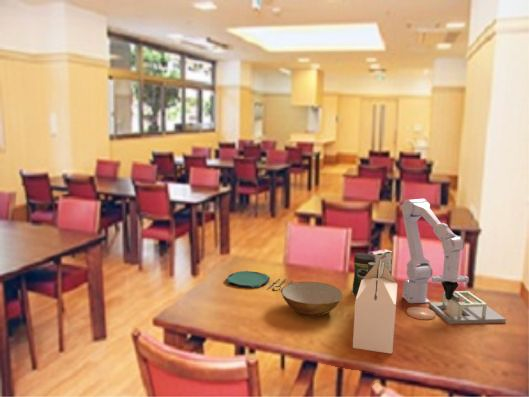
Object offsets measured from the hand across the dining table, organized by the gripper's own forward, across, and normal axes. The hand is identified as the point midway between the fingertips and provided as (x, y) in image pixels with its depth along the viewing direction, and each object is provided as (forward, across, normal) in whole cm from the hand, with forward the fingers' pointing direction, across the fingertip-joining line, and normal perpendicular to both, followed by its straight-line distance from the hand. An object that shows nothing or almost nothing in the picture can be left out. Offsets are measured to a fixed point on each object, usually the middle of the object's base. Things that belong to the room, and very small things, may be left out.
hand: (448, 298), depth 196 cm
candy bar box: (+7, -17, +35) cm, 39 cm away
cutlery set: (+7, -73, +40) cm, 84 cm away
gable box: (+7, -36, -18) cm, 41 cm away
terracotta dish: (+7, -10, +1) cm, 12 cm away
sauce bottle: (+7, -30, +6) cm, 32 cm away
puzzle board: (+7, +9, 0) cm, 11 cm away
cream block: (+7, +3, 0) cm, 7 cm away
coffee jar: (+7, -28, +24) cm, 37 cm away
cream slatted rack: (+5, +7, 0) cm, 8 cm away
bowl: (+7, -54, +7) cm, 55 cm away
